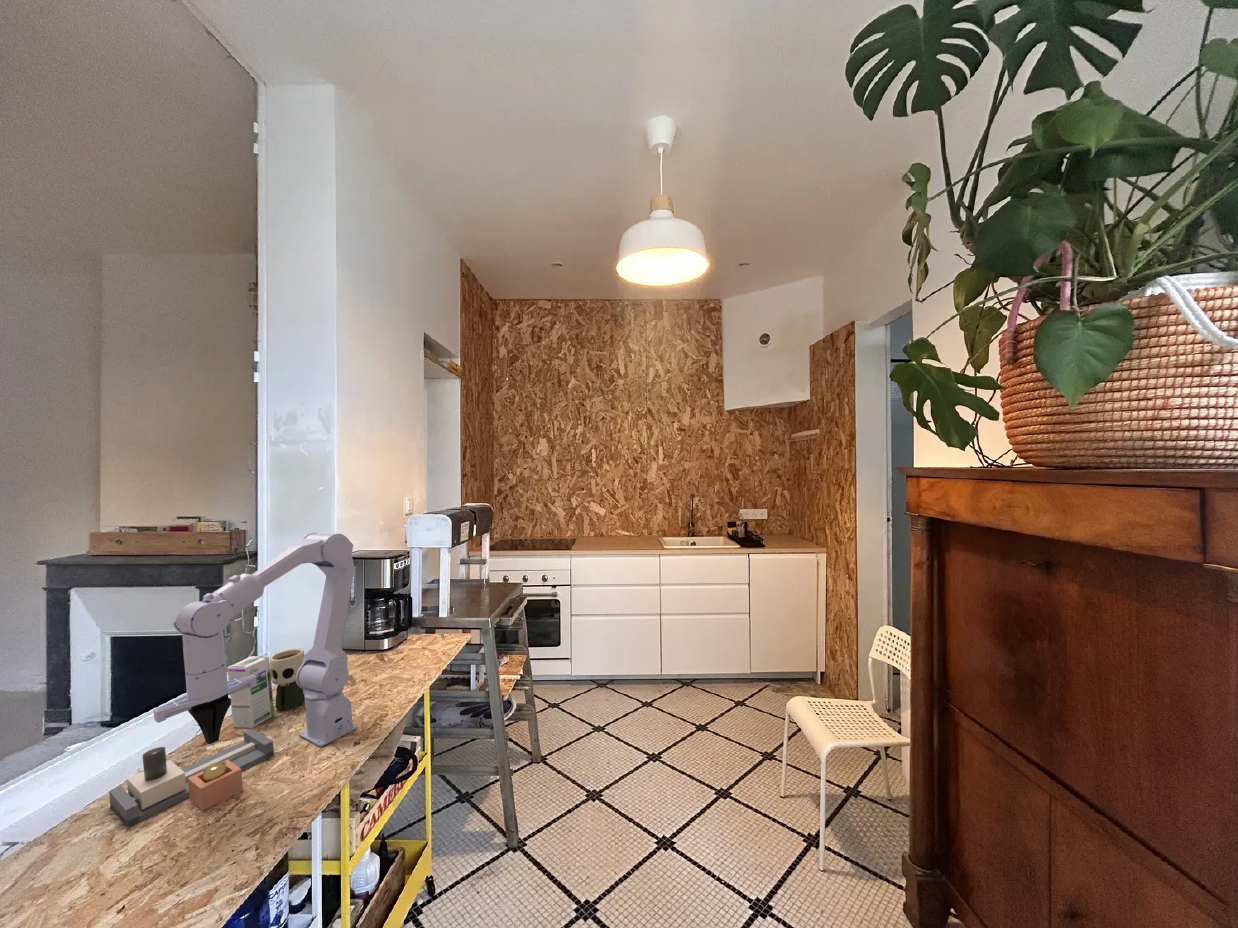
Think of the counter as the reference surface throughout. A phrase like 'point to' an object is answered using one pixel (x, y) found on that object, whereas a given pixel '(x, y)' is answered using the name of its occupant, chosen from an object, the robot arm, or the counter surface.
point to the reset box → (215, 787)
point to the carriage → (156, 779)
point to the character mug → (287, 677)
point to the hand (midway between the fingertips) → (212, 740)
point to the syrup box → (252, 693)
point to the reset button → (214, 771)
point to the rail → (240, 754)
